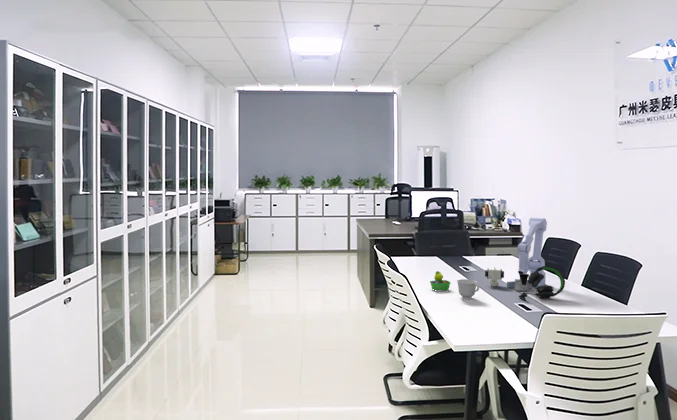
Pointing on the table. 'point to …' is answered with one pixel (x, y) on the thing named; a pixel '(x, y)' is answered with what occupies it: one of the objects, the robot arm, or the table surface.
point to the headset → (545, 290)
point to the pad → (523, 291)
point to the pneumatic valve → (494, 275)
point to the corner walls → (512, 284)
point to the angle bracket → (522, 286)
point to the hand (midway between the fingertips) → (523, 283)
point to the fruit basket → (439, 282)
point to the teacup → (467, 288)
